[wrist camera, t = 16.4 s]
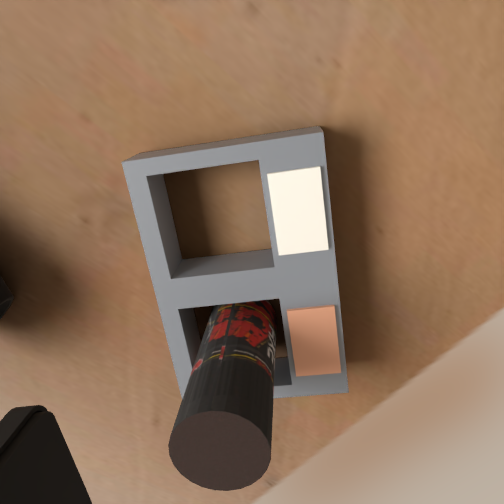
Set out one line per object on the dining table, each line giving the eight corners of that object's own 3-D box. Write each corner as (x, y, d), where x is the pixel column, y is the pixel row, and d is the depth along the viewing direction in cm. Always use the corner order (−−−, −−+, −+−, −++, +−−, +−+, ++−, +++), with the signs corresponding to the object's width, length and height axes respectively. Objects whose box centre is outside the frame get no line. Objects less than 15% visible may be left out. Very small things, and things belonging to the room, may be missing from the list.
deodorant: (290, 327, 40) (291, 463, 26) (238, 360, 41) (213, 504, 27) (248, 278, 38) (226, 393, 24) (196, 314, 40) (147, 441, 26)
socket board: (319, 125, 33) (323, 132, 29) (343, 363, 41) (349, 394, 37) (139, 153, 35) (120, 162, 31) (192, 376, 42) (183, 407, 38)
